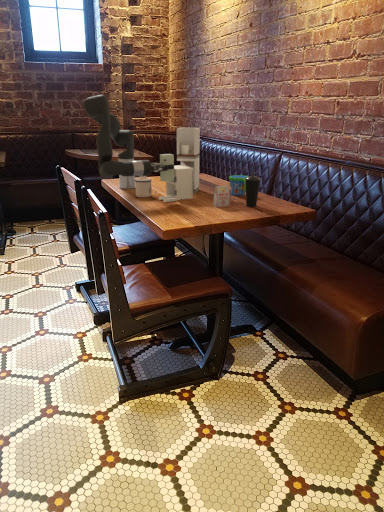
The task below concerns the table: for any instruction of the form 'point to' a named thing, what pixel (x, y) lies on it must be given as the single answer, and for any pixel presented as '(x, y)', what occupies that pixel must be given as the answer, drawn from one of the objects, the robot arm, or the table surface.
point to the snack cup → (237, 185)
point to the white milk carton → (221, 196)
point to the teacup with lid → (143, 186)
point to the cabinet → (179, 184)
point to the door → (169, 174)
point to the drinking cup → (252, 189)
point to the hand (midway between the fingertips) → (171, 166)
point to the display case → (189, 151)
